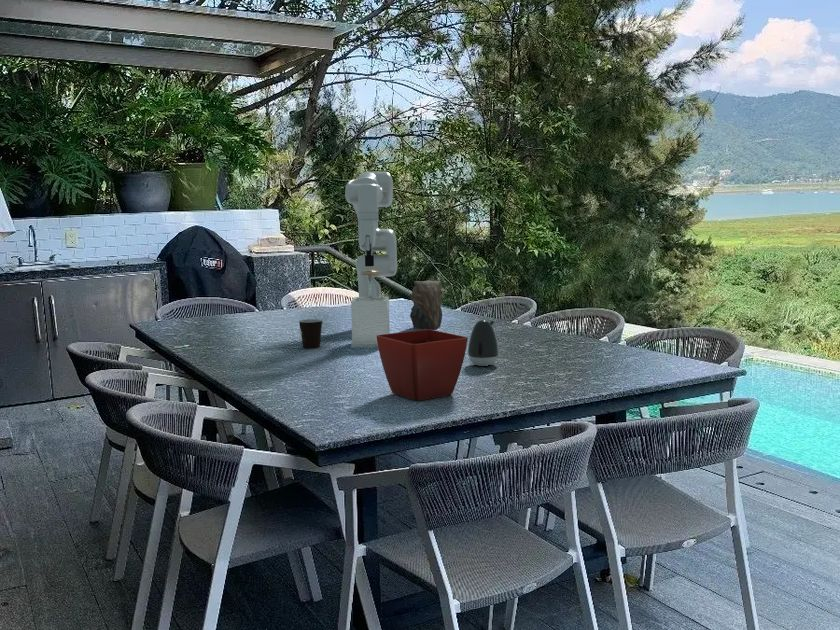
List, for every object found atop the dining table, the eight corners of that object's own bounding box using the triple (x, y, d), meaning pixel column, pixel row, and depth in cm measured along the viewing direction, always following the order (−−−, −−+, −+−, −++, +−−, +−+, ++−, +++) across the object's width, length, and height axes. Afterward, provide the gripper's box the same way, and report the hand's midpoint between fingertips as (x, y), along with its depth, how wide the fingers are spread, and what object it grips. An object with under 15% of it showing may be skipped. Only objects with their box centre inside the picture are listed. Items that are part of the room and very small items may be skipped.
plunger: (359, 314, 332) (358, 269, 330) (384, 313, 332) (383, 269, 329) (356, 317, 322) (355, 272, 320) (382, 317, 322) (381, 271, 320)
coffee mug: (318, 349, 320) (318, 322, 318) (296, 348, 322) (295, 322, 320) (328, 344, 331) (327, 318, 330) (306, 343, 333) (306, 318, 331)
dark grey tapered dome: (505, 365, 285) (505, 319, 283) (485, 369, 277) (484, 323, 275) (482, 361, 292) (481, 316, 290) (461, 365, 284) (461, 320, 282)
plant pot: (470, 395, 241) (469, 336, 239) (414, 406, 230) (413, 344, 228) (429, 384, 257) (429, 328, 255) (375, 393, 246) (374, 335, 244)
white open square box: (354, 341, 336) (353, 297, 333) (390, 341, 335) (389, 296, 333) (351, 347, 322) (349, 301, 319) (388, 347, 321) (387, 300, 319)
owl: (409, 328, 368) (408, 281, 366) (421, 324, 380) (420, 279, 377) (436, 329, 363) (435, 282, 360) (447, 325, 375) (447, 279, 372)
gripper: (360, 217, 329) (361, 265, 332) (356, 217, 315) (357, 267, 317) (379, 216, 329) (381, 264, 331) (376, 217, 314) (377, 267, 317)
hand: (369, 266), depth 324 cm, fingers closed
